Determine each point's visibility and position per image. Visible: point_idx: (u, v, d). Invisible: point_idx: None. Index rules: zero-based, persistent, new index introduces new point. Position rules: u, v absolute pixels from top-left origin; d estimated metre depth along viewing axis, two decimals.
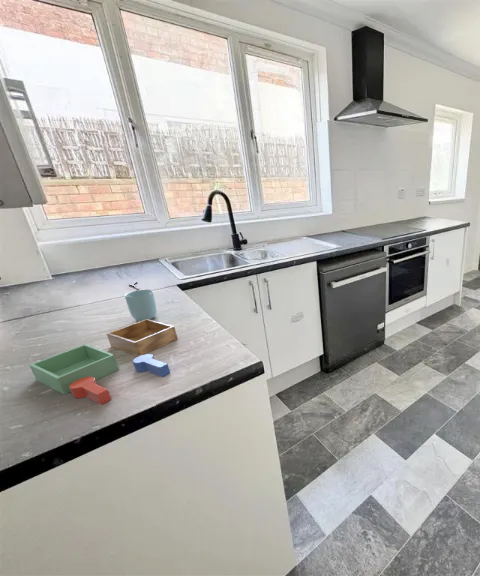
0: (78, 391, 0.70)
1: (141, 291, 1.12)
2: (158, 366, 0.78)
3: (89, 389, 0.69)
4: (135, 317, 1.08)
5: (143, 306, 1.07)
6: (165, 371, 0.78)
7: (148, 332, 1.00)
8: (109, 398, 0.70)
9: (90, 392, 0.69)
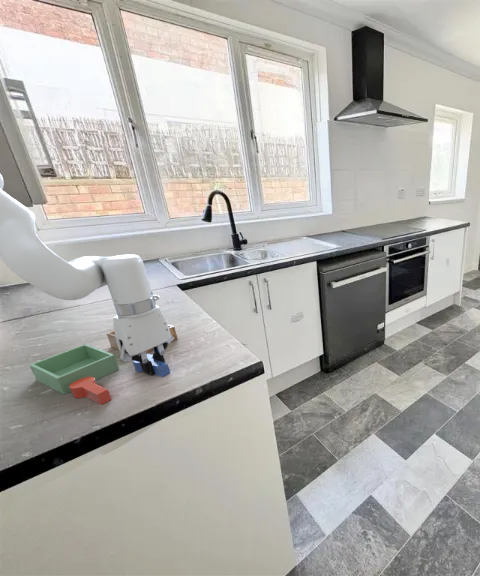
0: (78, 391, 0.70)
1: None
2: (158, 366, 0.78)
3: (89, 389, 0.69)
4: None
5: None
6: (165, 371, 0.78)
7: None
8: (109, 398, 0.70)
9: (90, 392, 0.69)
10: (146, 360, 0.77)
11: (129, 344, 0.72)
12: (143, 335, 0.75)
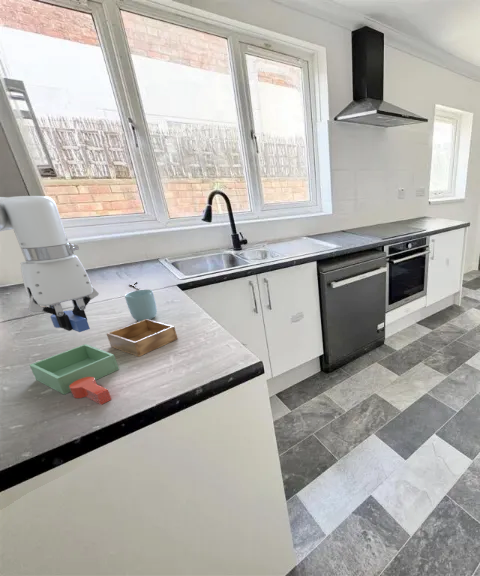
0: (78, 391, 0.70)
1: (141, 291, 1.12)
2: (75, 320, 0.72)
3: (89, 389, 0.69)
4: (135, 317, 1.08)
5: (143, 306, 1.07)
6: (83, 326, 0.73)
7: (148, 332, 1.00)
8: (109, 398, 0.70)
9: (90, 392, 0.69)
10: (61, 313, 0.72)
11: (37, 292, 0.67)
12: (56, 285, 0.70)
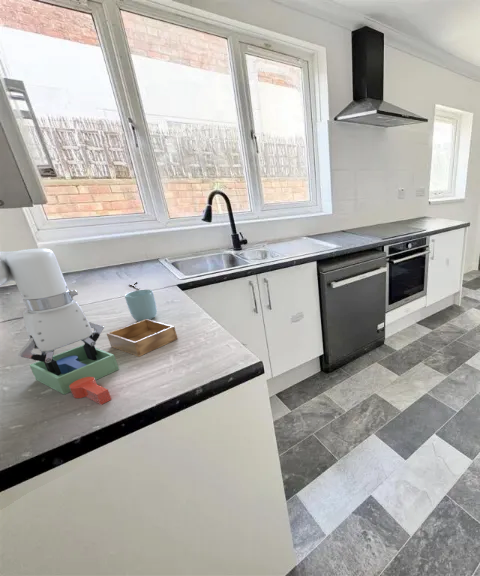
0: (78, 391, 0.70)
1: (141, 291, 1.12)
2: (78, 368, 0.76)
3: (89, 389, 0.69)
4: (135, 317, 1.08)
5: (143, 306, 1.07)
6: None
7: (148, 332, 1.00)
8: (109, 398, 0.70)
9: (90, 392, 0.69)
10: (49, 359, 0.73)
11: (40, 340, 0.71)
12: (57, 331, 0.73)
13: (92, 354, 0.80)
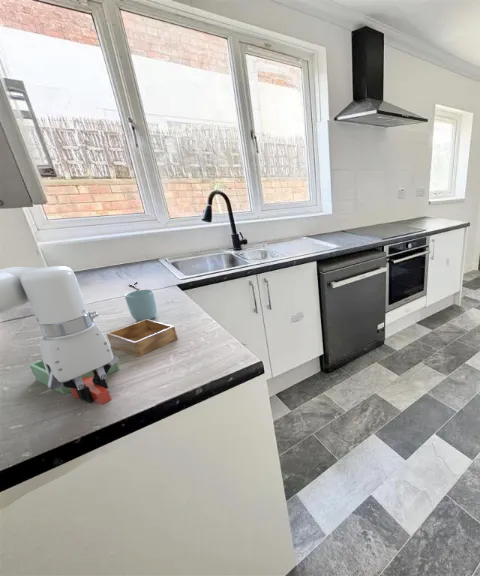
0: None
1: (141, 291, 1.12)
2: None
3: None
4: (135, 317, 1.08)
5: (143, 306, 1.07)
6: None
7: (148, 332, 1.00)
8: (109, 398, 0.70)
9: (90, 392, 0.69)
10: (82, 386, 0.68)
11: (57, 369, 0.63)
12: (76, 358, 0.65)
13: None
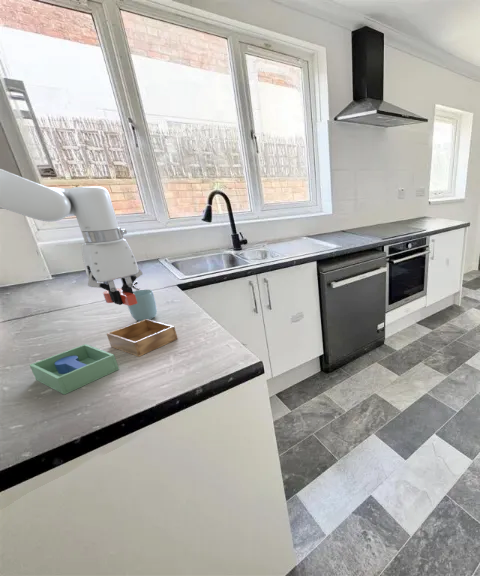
0: (110, 297, 0.85)
1: (141, 291, 1.12)
2: (78, 368, 0.76)
3: (120, 294, 0.84)
4: (135, 317, 1.08)
5: (143, 306, 1.07)
6: None
7: (148, 332, 1.00)
8: (135, 301, 0.85)
9: None
10: (114, 289, 0.83)
11: (96, 270, 0.78)
12: (110, 264, 0.80)
13: None
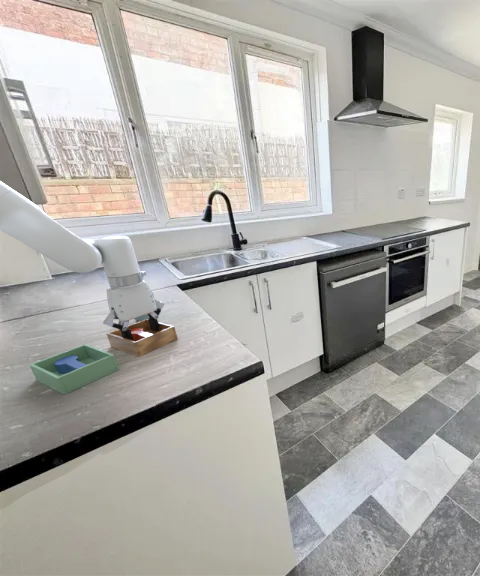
0: None
1: None
2: (78, 368, 0.76)
3: (141, 334, 0.93)
4: None
5: None
6: None
7: (148, 332, 1.00)
8: None
9: (142, 336, 0.93)
10: (125, 328, 0.89)
11: (120, 311, 0.86)
12: (132, 304, 0.89)
13: (156, 326, 0.96)
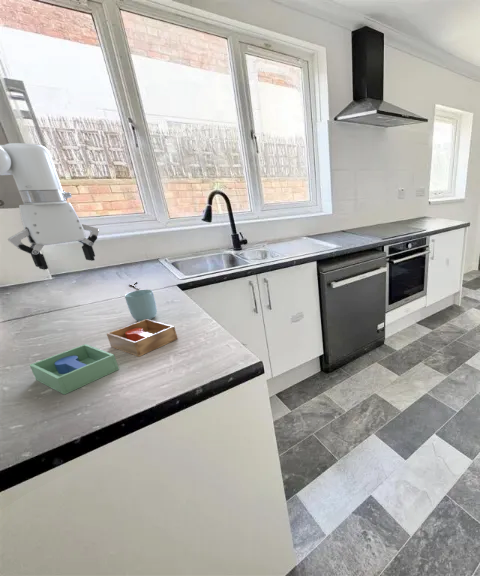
0: (132, 337, 0.94)
1: (141, 291, 1.12)
2: (78, 368, 0.76)
3: (141, 334, 0.93)
4: (135, 317, 1.08)
5: (143, 306, 1.07)
6: None
7: (148, 332, 1.00)
8: None
9: (142, 336, 0.93)
10: (36, 252, 0.76)
11: (35, 232, 0.75)
12: (52, 227, 0.77)
13: (90, 254, 0.85)
